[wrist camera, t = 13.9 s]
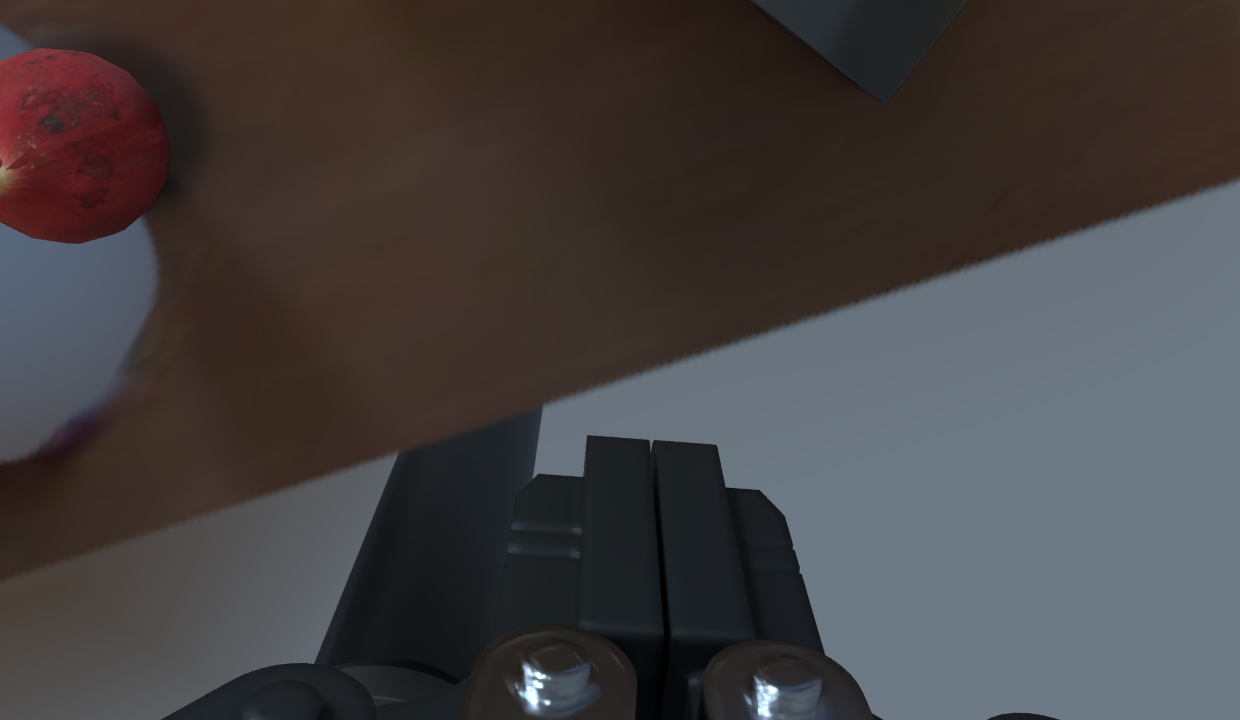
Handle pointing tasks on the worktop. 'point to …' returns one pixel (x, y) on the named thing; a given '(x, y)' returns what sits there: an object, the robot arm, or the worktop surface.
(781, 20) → the panel
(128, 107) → the red round fruit
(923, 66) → the worktop surface
